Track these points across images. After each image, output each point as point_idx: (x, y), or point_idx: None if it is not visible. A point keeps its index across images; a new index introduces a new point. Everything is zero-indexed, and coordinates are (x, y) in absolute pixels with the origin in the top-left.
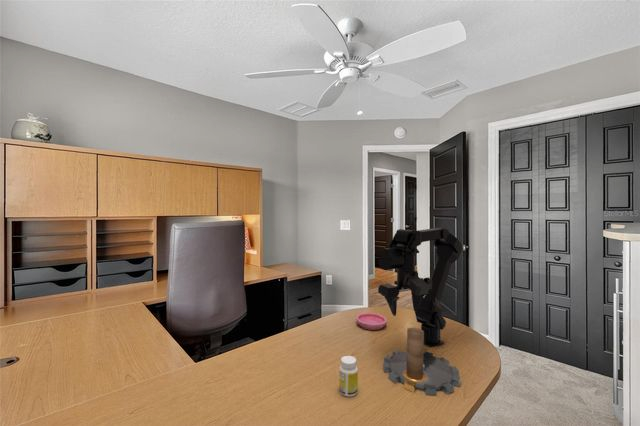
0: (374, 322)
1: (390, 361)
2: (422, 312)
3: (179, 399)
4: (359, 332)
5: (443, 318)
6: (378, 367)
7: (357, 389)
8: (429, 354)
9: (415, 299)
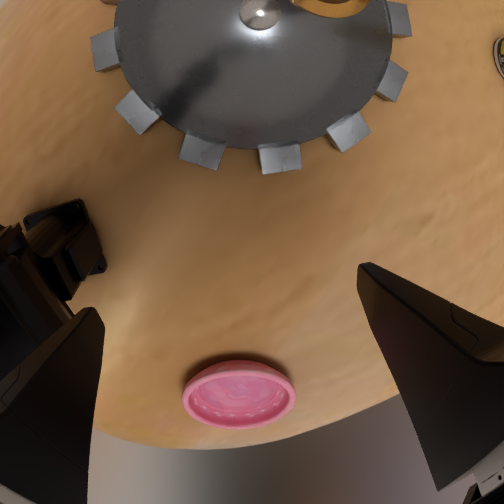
0: (222, 393)
1: (364, 95)
2: (41, 327)
3: None
4: (309, 351)
5: None
6: (399, 108)
7: (501, 40)
8: (137, 100)
9: (61, 417)
